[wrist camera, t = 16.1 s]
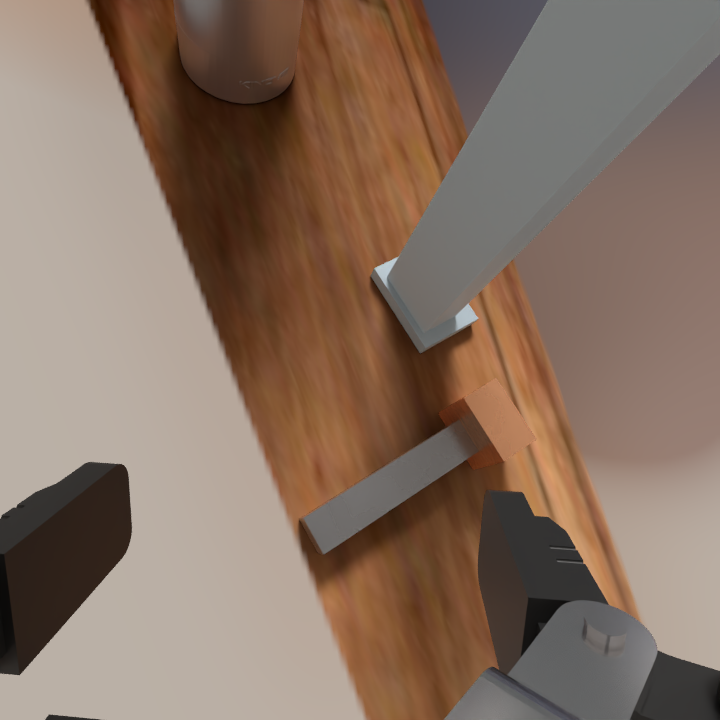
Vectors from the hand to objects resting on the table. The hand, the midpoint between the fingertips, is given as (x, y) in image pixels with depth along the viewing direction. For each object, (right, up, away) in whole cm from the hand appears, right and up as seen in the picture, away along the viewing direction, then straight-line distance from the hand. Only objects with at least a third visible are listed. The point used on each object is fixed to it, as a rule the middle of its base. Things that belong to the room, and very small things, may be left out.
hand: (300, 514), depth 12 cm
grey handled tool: (+4, -4, +24) cm, 24 cm away
